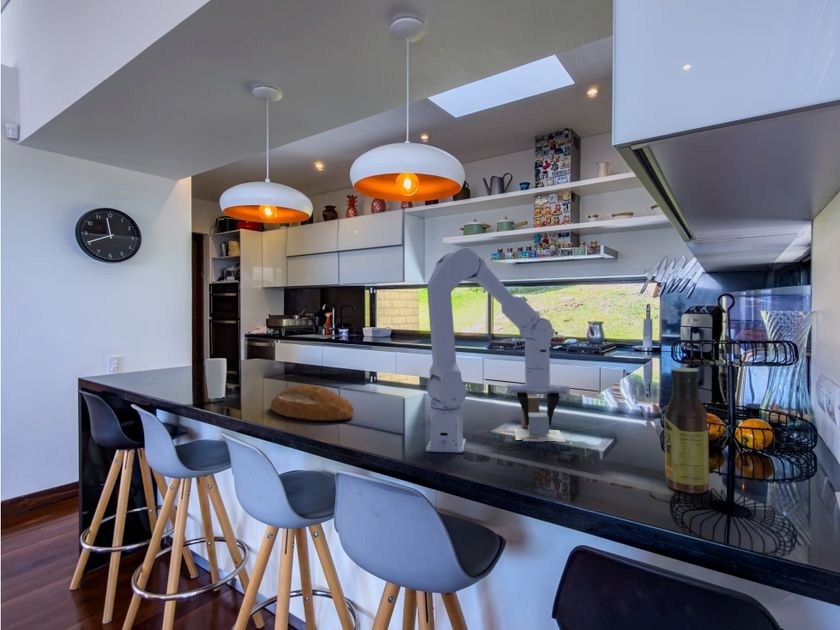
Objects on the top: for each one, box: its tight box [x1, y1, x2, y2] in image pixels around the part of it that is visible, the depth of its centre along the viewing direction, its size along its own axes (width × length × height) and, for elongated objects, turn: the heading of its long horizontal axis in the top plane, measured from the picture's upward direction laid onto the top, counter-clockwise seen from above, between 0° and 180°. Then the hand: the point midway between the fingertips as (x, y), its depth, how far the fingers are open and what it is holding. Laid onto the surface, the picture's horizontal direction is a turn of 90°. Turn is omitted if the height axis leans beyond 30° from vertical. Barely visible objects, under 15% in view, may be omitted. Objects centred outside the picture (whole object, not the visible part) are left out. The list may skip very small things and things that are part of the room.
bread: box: [270, 384, 355, 422], centre depth 137 cm, size 18×35×9 cm, turn 49°
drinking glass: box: [204, 357, 227, 399], centre depth 158 cm, size 7×7×15 cm
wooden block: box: [520, 394, 540, 430], centre depth 116 cm, size 4×4×8 cm
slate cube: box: [527, 412, 550, 434], centre depth 108 cm, size 4×4×4 cm
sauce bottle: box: [663, 367, 710, 495], centre depth 74 cm, size 6×6×20 cm
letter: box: [513, 428, 566, 443], centre depth 108 cm, size 10×11×1 cm
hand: (538, 424), depth 108 cm, fingers closed on slate cube, 4 cm apart
